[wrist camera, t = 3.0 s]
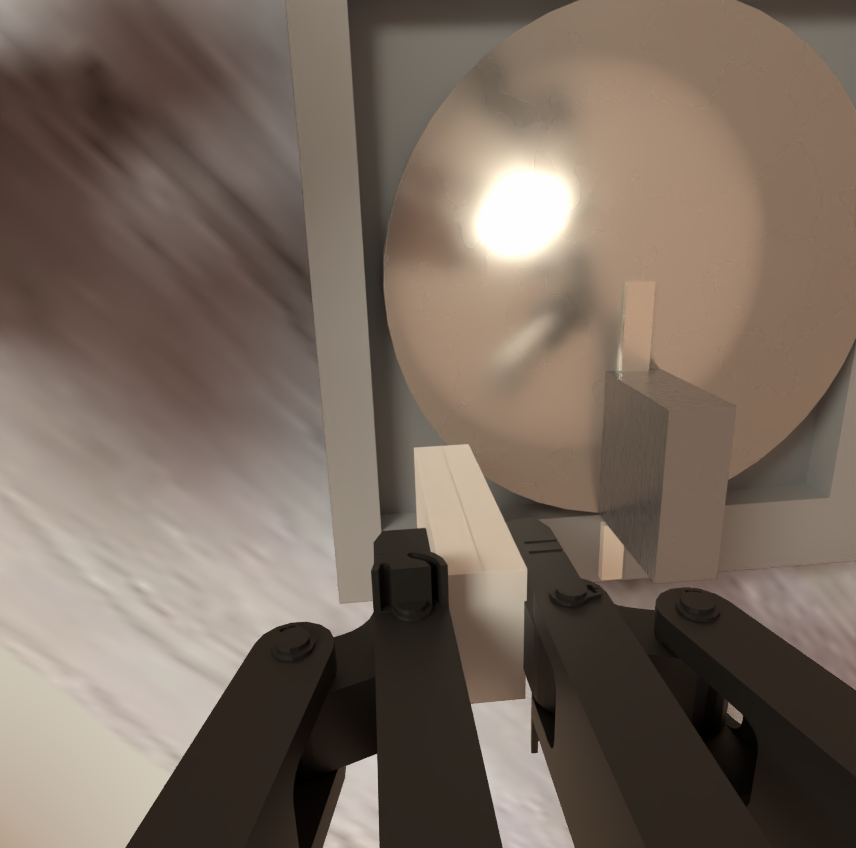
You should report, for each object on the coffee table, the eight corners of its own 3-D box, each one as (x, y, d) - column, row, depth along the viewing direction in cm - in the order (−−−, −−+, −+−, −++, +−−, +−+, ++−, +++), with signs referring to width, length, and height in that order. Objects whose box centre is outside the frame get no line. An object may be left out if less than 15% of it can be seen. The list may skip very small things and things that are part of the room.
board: (286, -93, 17) (269, -156, 14) (907, -92, 18) (1007, -149, 16) (342, 561, 23) (339, 609, 20) (807, 525, 25) (865, 564, 22)
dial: (367, 15, 17) (367, -94, 11) (866, 9, 18) (1104, -93, 12) (394, 501, 21) (405, 605, 15) (796, 472, 22) (947, 559, 16)
